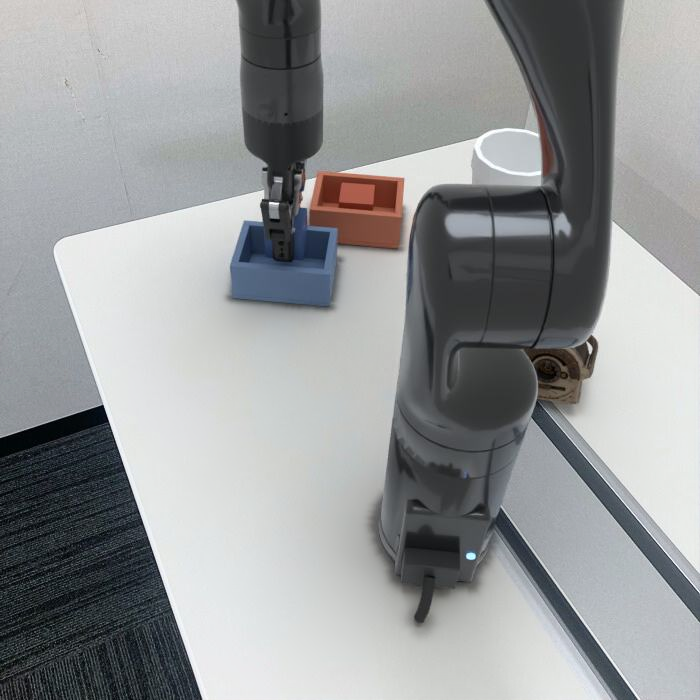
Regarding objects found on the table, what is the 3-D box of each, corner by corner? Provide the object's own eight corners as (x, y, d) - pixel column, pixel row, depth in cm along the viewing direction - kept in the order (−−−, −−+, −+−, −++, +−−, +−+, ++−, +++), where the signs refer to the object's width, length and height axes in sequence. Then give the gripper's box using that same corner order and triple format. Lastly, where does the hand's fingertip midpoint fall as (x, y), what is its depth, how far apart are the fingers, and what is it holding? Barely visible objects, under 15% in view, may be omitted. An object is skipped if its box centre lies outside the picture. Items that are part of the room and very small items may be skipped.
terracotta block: (371, 232, 90) (373, 204, 87) (337, 229, 90) (338, 201, 87) (373, 212, 93) (374, 184, 90) (340, 209, 93) (341, 182, 90)
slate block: (302, 260, 80) (302, 230, 77) (265, 257, 80) (263, 227, 78) (307, 237, 83) (307, 207, 80) (271, 234, 83) (270, 204, 80)
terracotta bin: (398, 248, 89) (401, 217, 86) (309, 241, 90) (309, 209, 86) (401, 209, 95) (404, 177, 91) (317, 202, 95) (317, 170, 92)
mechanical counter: (475, 334, 72) (567, 373, 66) (550, 264, 78) (641, 294, 72) (481, 387, 77) (567, 428, 71) (551, 317, 83) (637, 349, 77)
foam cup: (548, 241, 91) (575, 146, 82) (517, 282, 86) (543, 186, 76) (477, 214, 95) (496, 119, 85) (443, 252, 89) (459, 156, 80)
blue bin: (329, 306, 82) (330, 274, 79) (232, 298, 82) (229, 265, 79) (336, 259, 87) (337, 227, 84) (246, 252, 88) (243, 220, 84)
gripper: (313, 143, 64) (313, 293, 77) (331, 66, 74) (328, 210, 86) (226, 136, 64) (239, 286, 77) (256, 60, 74) (264, 204, 87)
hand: (287, 245), depth 82 cm, fingers closed on slate block, 4 cm apart
